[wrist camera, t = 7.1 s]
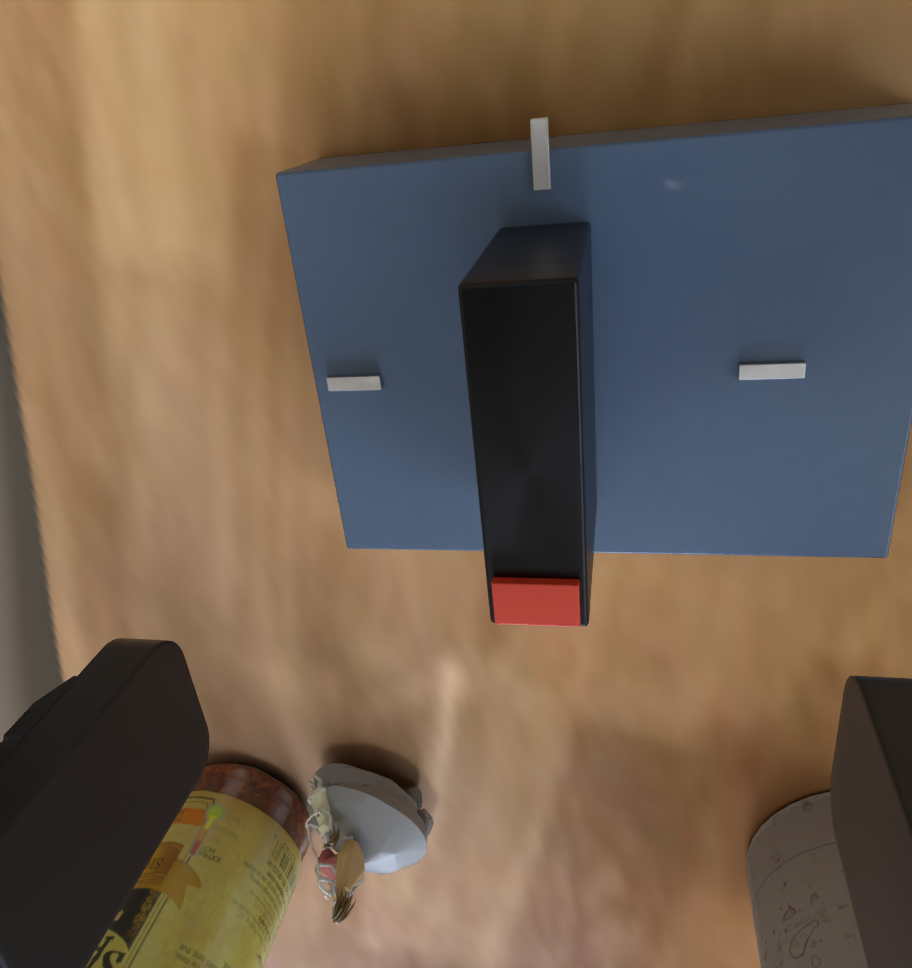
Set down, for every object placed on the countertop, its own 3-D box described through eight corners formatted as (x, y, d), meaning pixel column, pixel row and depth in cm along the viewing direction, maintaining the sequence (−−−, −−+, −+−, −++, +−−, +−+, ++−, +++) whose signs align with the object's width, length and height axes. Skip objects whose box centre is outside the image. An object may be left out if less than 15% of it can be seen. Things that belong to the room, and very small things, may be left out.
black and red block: (498, 226, 17) (453, 288, 13) (590, 221, 17) (578, 281, 12) (519, 505, 21) (488, 631, 16) (597, 505, 20) (588, 635, 16)
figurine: (461, 799, 31) (427, 950, 26) (392, 844, 33) (348, 992, 28) (356, 720, 30) (299, 860, 25) (292, 772, 32) (227, 911, 27)
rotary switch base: (921, 71, 17) (977, 75, 14) (854, 518, 22) (886, 582, 20) (314, 132, 20) (265, 144, 17) (378, 514, 25) (348, 570, 23)
